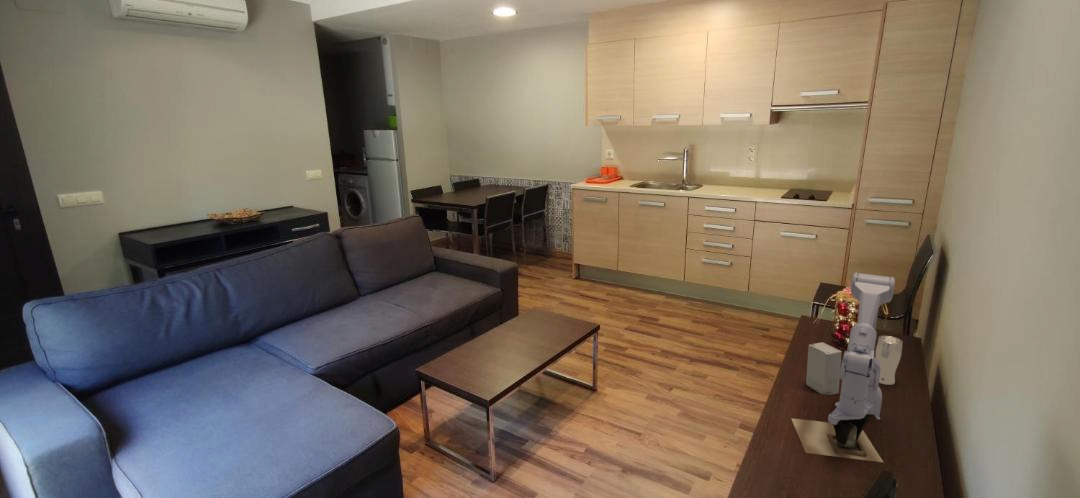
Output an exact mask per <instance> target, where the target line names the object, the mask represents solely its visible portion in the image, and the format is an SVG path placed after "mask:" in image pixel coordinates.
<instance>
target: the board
mask: <svg viewBox="0 0 1080 498" xmlns="http://www.w3.org/2000/svg"><path fill="white" fill-rule="evenodd" d="M790 420H791V422H792V424H793V427H794V428H795V431H796V433H797V436H798V437H799V440H800V442H801V445H802V448H803V450H804V452H805V453H806V454H812V455H820V456H828V457H829V456H830V457H836V458H845V459H853V460H859V461H860V460H861V461H868V462H877V463H884V460H883V459H882V457H881V456H880V454H879V453H878V451H877V450H876V449H875V447H874V445H873V444H872V442H871V440H870V438H868V436H867V434H866V432H865V431H864V429H863V430H862V432H861V434H860V436H859V438H858V439H857V440H856V442H855V447H853V448H848V447H844V446H842V445H840V444H839V443H838V442H837V440H836V434H835V430H834V427H833V424H832V423H830V422H829V421H818V420H812V419H811V420H809V419H801V418H790Z"/></svg>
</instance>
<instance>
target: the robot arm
mask: <svg viewBox="0 0 1080 498" xmlns="http://www.w3.org/2000/svg"><path fill="white" fill-rule="evenodd" d="M895 285H896V279H895V278H894V276H885V275H878V274H877V275H876V274H870V273H869V274H868V273H861V272H857V271H855V272H854V273H853V275H852V278H851V285H850V293H851V295H852V298H854V299H855V300H857V301H858V302H859V303H858V304H859V305H858V316H857V323H856V324H855V325H853V326H852V327H851V328H850V334H849V338H848V339H849V340H848V344H847V347H846V348H847V349H846V350H845V351H844V353H843V357H842V360H841V367H840V381H841V388H840V395H839V401H837V402H835V404H834V406H835V407H836V408H834V410H833V411H832V412H831V413H829V414H828V417H827V422H829V423H832V424H833V427H834V430H835V434H836V440H837V442H839V443H841V444H842V445H845V444H846V443H847V440H848V436H849V433H850V431H851V430H852V428H853V427H854V425H855V426H856V427H857V434H856V440H857V439H858V438H859V436H860V434H861V432H862V430H863V431H864V429H865V427H866V426H867V425H868V423H870V422H871V421H872V418H871V417H870V416H869V415H872V416H873V415H874V417H875V418H876V420H879V421H880V420H881V417H880V415H881V408H882V403H883V393H882V390H881V388H880V386H879V385H880V383H879V380H880V373H881V364H880V361H879V360H878V359H876V356H875V349H876V343H877V342H876V341H877V337H878V336H877V335H878V333H877V332H878V331H876V327H877V323H878V315H879V308H880V306H882V305H883V304H886V303H887V304H888V303H890V302H891V301H892V300H893V296H894V291H895V290H894V289H895ZM850 423H851V424H850ZM852 424H853V425H852Z"/></svg>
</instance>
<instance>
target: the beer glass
mask: <svg viewBox="0 0 1080 498" xmlns="http://www.w3.org/2000/svg"><path fill="white" fill-rule="evenodd" d="M903 342H904V341H903V340H902V339H900V338H898V337H895V336H891V335H879V336H878V338H877V342H876V343H877V344H876V345H875V358H876V359H878V360H879V361H880V364H881V373H880V380H879V384H882V385H886V386H893V385H895V384H896V380H895V378H896V377H895V376H896V375H895V374H896V371H897V369H898V366H899V363H900V361H901V358H902V352H903Z"/></svg>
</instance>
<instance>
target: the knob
mask: <svg viewBox="0 0 1080 498" xmlns="http://www.w3.org/2000/svg"><path fill="white" fill-rule="evenodd" d="M850 424H851V423H850ZM852 425H853V424H852ZM856 434H857V427H856V426H855V425H854V427H853V428H852V430H851V431H850V433H849V436H848V440H847V443H846V444H845V445H842V444H841V443H839V442H838V443H839V444H840V445H842V446H844V447H848V448H853V447H855V442H856Z"/></svg>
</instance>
